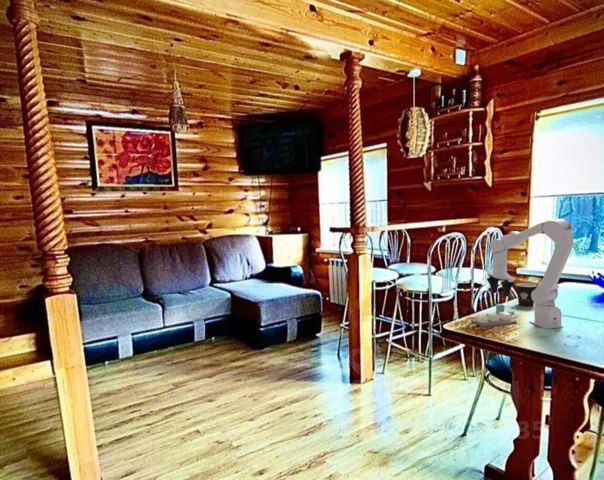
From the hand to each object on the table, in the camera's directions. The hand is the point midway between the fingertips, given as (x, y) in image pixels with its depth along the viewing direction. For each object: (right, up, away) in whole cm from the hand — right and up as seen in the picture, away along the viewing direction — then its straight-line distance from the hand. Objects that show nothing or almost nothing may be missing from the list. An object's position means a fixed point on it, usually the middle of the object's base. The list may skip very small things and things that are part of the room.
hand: (500, 294), depth 180 cm
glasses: (0, -9, 0) cm, 9 cm away
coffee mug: (+20, -7, +13) cm, 25 cm away
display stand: (-7, -11, -9) cm, 16 cm away
